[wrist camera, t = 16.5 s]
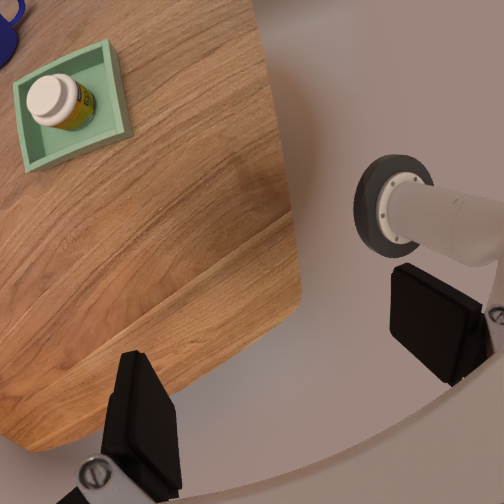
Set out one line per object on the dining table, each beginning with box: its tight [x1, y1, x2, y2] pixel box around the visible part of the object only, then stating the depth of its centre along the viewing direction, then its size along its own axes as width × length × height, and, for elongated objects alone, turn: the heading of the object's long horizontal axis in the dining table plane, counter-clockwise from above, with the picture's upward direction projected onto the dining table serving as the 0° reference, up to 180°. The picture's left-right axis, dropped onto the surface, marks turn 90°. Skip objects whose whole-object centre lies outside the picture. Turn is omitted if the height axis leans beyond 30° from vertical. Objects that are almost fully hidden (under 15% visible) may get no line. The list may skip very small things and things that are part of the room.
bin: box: [13, 39, 133, 173], centre depth 26 cm, size 13×12×6 cm
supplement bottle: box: [27, 74, 96, 131], centre depth 23 cm, size 6×6×10 cm
